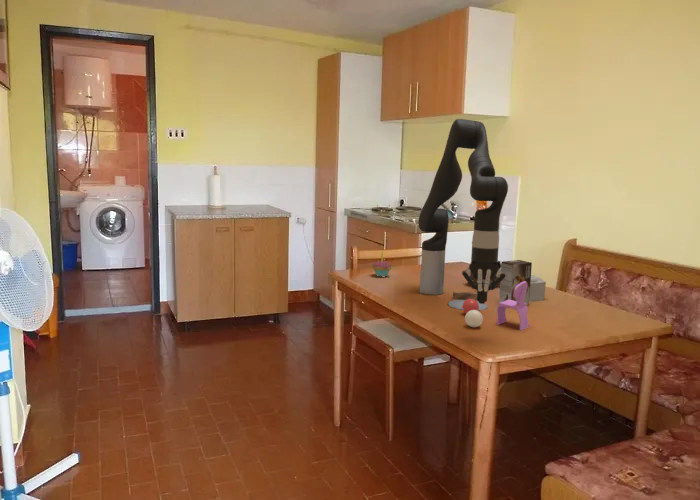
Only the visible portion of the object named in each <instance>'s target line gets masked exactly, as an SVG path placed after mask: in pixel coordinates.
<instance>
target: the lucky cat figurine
mask: <svg viewBox="0 0 700 500" xmlns="http://www.w3.org/2000/svg"><path fill="white" fill-rule="evenodd" d="M497 264H498V267H499V270H500V271H501V264H502V261H501V260H498V262H497ZM470 274H471V275H470V278H471V279H472V281H473V282H474V283H475V284H476V285H477V279H476V278H475V277H474V275H473V274H472V272H471V271H470ZM496 274H497V273H496ZM496 274H495V275H494V276H493V277H492V279H490V281H489V285H490V284H491V283H492V282H493V281H494V280H495V279H496V278H497V277H496ZM483 284H484V279H483V280H482V287H483Z"/></svg>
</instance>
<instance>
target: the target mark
mask: <svg viewBox="0 0 700 500" xmlns="http://www.w3.org/2000/svg"><path fill="white" fill-rule="evenodd" d="M464 301H465V300H461V299H453V300H451V301H449V302H448V303H447V305H448V306H449V307H450V308H452V309H455V310H460V311H463V308H462V306H463V303H464ZM476 301H477V300H476ZM477 303H478V305H479V309H478V311H479V312H480V311H483V310H486V309H488V304H486V303H484V304H479V302H478V301H477Z"/></svg>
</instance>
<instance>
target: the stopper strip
mask: <svg viewBox="0 0 700 500" xmlns="http://www.w3.org/2000/svg"><path fill="white" fill-rule="evenodd" d="M452 299H453V300H467V299H474V300H476V301H477V292H471V291H452Z"/></svg>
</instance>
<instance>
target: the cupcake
mask: <svg viewBox="0 0 700 500" xmlns="http://www.w3.org/2000/svg"><path fill="white" fill-rule="evenodd" d="M380 256H381V257H380V259H381V260H377V261H375V262H373V263H372V266H371V269H373V270H374V272H375V276H376V275H378V276H387V277H388V274H389V272H390V270H391V269H392V264H390V262H388V261H385V260H384V251H383V250H382V251H381V255H380Z"/></svg>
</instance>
